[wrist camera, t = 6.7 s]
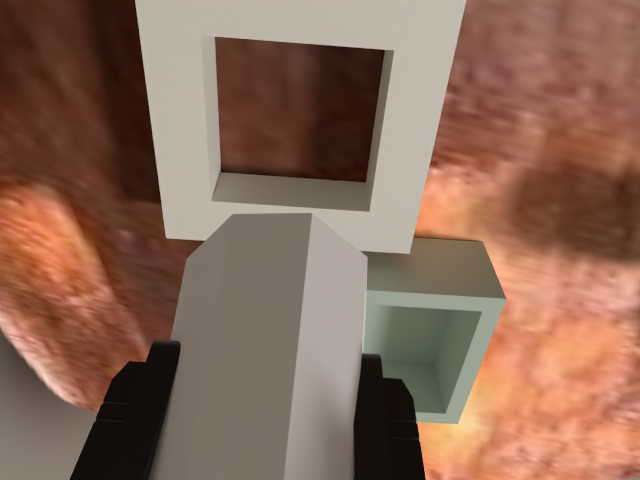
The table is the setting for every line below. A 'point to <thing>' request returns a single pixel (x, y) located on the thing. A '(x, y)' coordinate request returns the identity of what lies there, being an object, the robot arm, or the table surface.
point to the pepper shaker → (266, 354)
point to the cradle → (289, 192)
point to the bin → (432, 320)
